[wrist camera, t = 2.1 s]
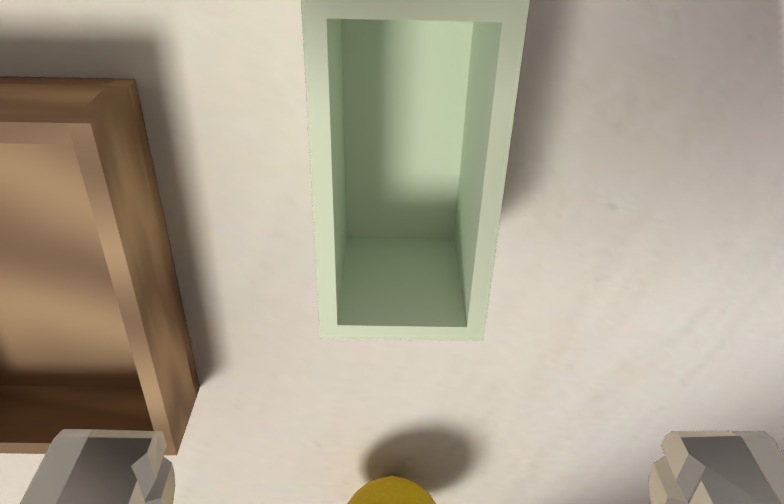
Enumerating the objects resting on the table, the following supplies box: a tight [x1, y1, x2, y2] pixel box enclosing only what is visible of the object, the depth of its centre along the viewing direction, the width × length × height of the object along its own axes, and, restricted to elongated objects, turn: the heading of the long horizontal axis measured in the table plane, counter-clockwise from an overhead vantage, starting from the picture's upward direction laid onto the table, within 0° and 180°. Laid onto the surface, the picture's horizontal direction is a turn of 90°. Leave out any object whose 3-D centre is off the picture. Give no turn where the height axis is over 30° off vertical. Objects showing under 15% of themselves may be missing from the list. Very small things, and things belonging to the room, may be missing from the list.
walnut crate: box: [0, 77, 200, 455], centre depth 25 cm, size 15×10×4 cm, turn 179°
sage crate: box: [301, 0, 530, 341], centre depth 21 cm, size 11×6×6 cm, turn 179°
